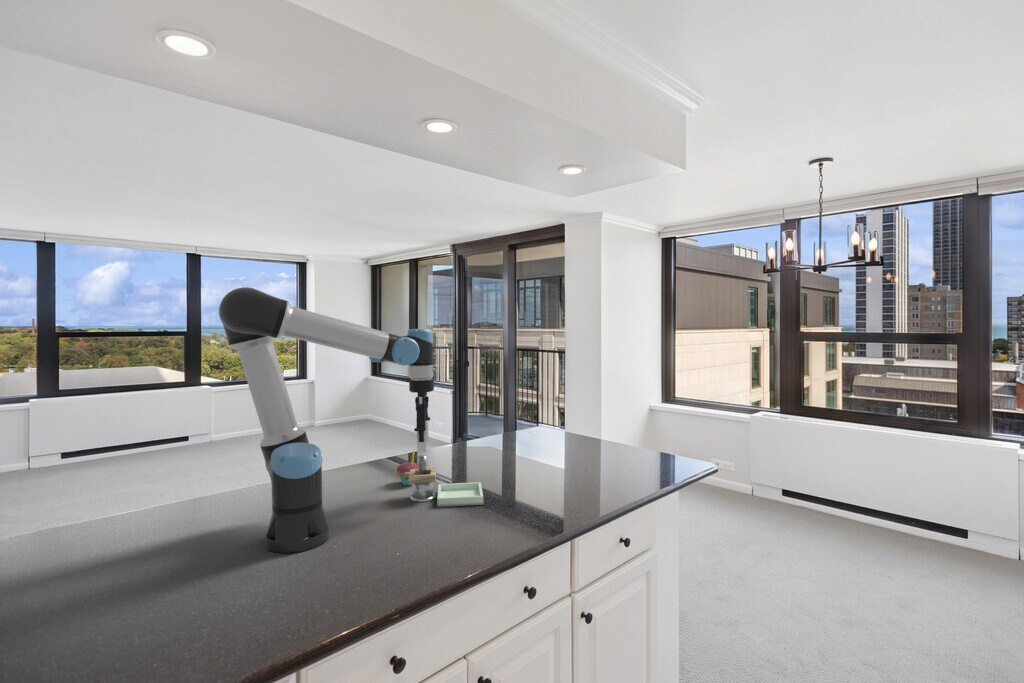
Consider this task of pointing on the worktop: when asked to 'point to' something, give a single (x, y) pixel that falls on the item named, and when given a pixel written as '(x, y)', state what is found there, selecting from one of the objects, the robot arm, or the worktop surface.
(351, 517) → the worktop surface
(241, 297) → the robot arm
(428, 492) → the silver bell-shaped piece
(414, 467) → the cupcake
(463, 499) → the tray
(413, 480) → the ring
